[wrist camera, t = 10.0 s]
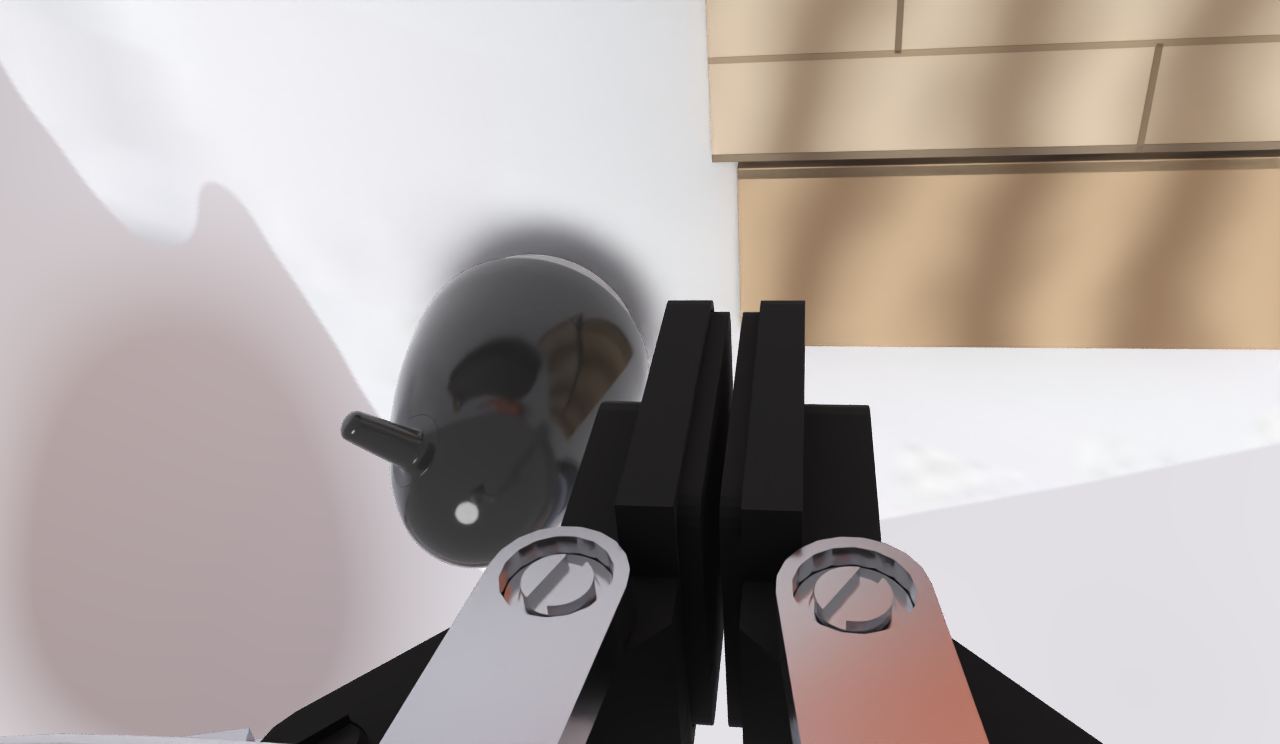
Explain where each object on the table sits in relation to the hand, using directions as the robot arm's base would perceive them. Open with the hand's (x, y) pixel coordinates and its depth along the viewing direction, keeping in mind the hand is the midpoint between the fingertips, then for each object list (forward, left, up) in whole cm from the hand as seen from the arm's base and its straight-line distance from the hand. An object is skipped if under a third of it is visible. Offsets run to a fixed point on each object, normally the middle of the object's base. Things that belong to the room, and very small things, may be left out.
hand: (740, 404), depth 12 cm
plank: (-9, +11, -29) cm, 32 cm away
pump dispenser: (+11, +15, -29) cm, 35 cm away
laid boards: (-9, +3, -29) cm, 31 cm away
